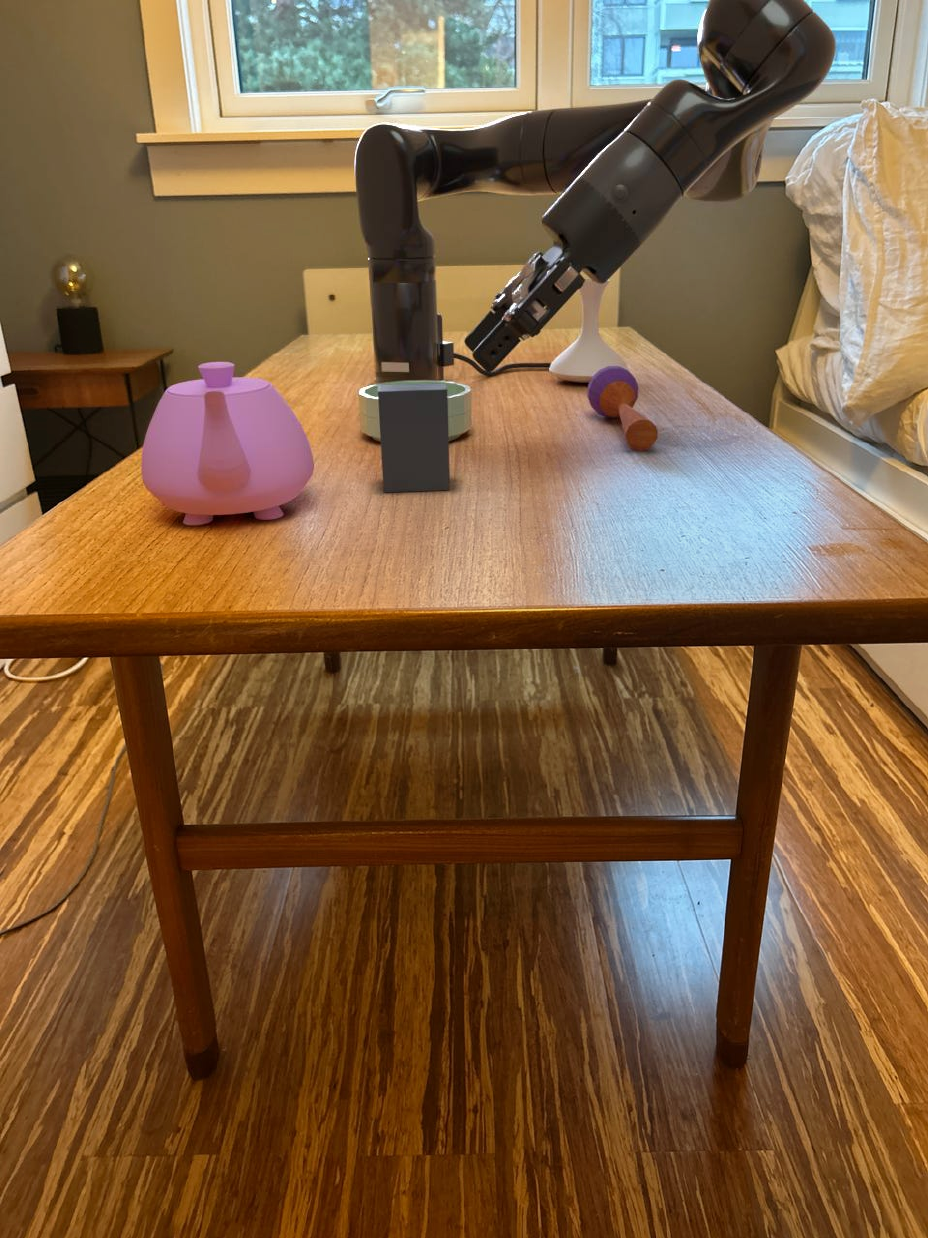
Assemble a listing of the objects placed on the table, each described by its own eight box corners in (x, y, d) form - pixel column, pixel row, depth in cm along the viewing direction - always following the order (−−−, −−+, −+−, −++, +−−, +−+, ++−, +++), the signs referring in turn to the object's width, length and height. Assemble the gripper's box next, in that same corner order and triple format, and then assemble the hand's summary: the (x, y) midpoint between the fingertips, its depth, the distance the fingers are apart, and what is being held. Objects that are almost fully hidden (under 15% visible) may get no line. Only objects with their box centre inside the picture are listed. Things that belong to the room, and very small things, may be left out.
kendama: (609, 413, 91) (580, 366, 109) (616, 468, 94) (587, 414, 112) (667, 401, 91) (629, 355, 108) (673, 456, 94) (635, 404, 111)
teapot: (325, 542, 69) (311, 381, 64) (133, 558, 67) (103, 392, 62) (312, 474, 87) (300, 344, 82) (160, 485, 85) (138, 351, 80)
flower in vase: (550, 374, 137) (554, 192, 127) (626, 374, 136) (636, 190, 125) (546, 390, 125) (549, 191, 115) (629, 390, 124) (640, 189, 113)
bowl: (416, 418, 110) (415, 376, 108) (493, 432, 102) (493, 387, 100) (339, 436, 102) (335, 391, 100) (416, 453, 94) (414, 405, 92)
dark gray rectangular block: (383, 483, 84) (378, 385, 80) (448, 481, 84) (445, 383, 81) (383, 492, 81) (377, 391, 77) (449, 490, 82) (447, 389, 78)
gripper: (664, 246, 69) (515, 402, 73) (621, 240, 82) (496, 373, 86) (599, 170, 66) (448, 336, 71) (565, 176, 79) (439, 317, 84)
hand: (475, 356), depth 78 cm, fingers open, 8 cm apart
